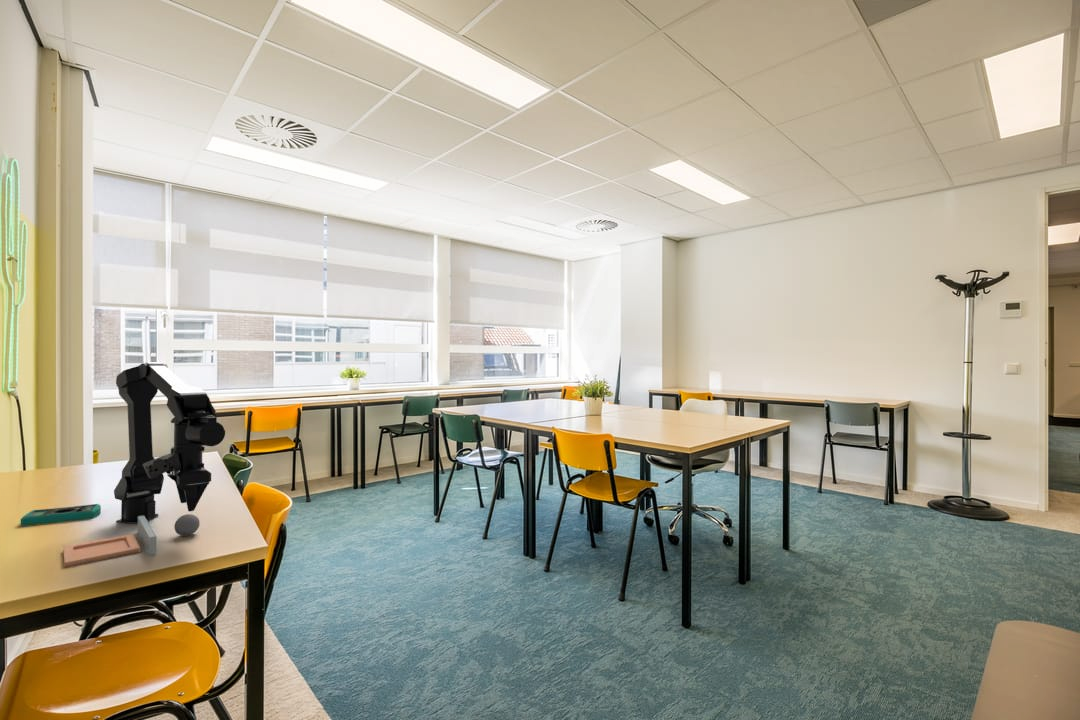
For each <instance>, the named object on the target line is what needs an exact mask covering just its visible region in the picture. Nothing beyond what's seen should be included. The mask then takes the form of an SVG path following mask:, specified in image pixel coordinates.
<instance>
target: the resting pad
mask: <svg viewBox="0 0 1080 720" xmlns="http://www.w3.org/2000/svg"><path fill="white" fill-rule="evenodd" d="M62 548H63V551H62V552H63V562H64V563H63V564H64V568H69V567H75V566H78V565H84V564H88V563H89V564H90V563H95V562H98V561H104V560H107V559H108V560H109V559H114V558H118V557H124V556H128V555H133V554H139V553H141V547H140V545H139V543H138V540H137V538H136V536H135V535H134V533H132V534H126V535H119V536H114V537H109V538H104V539H97V540H93V541H87V542H82V543H76V544H70V545H65V546H63V547H62Z"/></svg>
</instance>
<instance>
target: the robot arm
mask: <svg viewBox="0 0 1080 720" xmlns="http://www.w3.org/2000/svg"><path fill="white" fill-rule="evenodd" d="M115 384H116V387H117V388H118V395H119V396H120V398H121V399H122V400H123V401H124V402H125V403H126V404H127V406H126V407H127V423H128V449H129V459H128V461H127V462H126V464H125V466H124V467H123V468H122V470H121V478H120V480H118V483H117V485H116V486H115V488H114V490H113V494H114V499H115V500H119V501H121V503H120V504H121V507H120V508H121V512H120V513H121V515H120V516H121V517H120V519H117V520H115V523H116V524H117V523H118V524H119V523H120V524H138V516H145V518H146V520H147V521H149V520H151V519H155V518H157V517H158V516H159V513H156V500H155V495H161V493H162V488H163V484H164V480H165V476H164V473H166V475H167V477H169V478H170V479H171V480H173V481H174V483H175V486H176V489H177V493H178V498H179V501H180V503H181V504H186V506H187V511H188V512H189V513H190V512H194V511H195V509H196V507H197V506H198V503H199V502H200V499H201V498H202V496H203V495H204V493H205V490H206V489H207V487H208V485H209V484H210V482H212V473H211V472H210V471H209V470H207V469H206V468H205V463H204V462H203V452H205V447H216V446H217V445H219V444H221V443H222V442H223V440H224V438H225V436H226V430H225V427H224V426H223V424H222V423H220V422H217V420H218V419H217V418H218V417H217V414H216V409H215V408H214V406H213V404H212V402H211V400H210V397H209V395H208V393H206V392H205V390H203V389H201V388H199V387H195V386H191V385H188V384H186V383H185V382H184V381H183V380H182V379H180V378H179V377H178V376H177V374H175V373H173V372H172V371H171V370H170V368H168V365H167V364H166V363H164V362H161V361H159V362H156V361H155V362H154V361H153V362H147V361H146V362H143V363H140V364H139V365H136V366H135V367H131V368H126V369H124V370H122V371H121V372H120V373H119V374H117V376H116V378H115ZM158 391H159V392H161V394H162V395H164V396H165V397H166V399H167V402H166V406H167V408H168V410H169V411H170V412H171V414H172V415H173V416H174V417H173V418H172V419H171V420H170V423H171V424H174V427H173V446H171V448H170V453H167V454H166V455H162V456H159V457H156V458H155V457H154V453H153V433H152V432H153V431H152V429H153V427H152V405H151V404H152V401H153V400H154V398H155V396H156V395H157V393H158Z"/></svg>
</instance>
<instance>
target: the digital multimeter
mask: <svg viewBox="0 0 1080 720" xmlns="http://www.w3.org/2000/svg"><path fill="white" fill-rule="evenodd" d="M101 510H102V506H101V505H100V504H99V503H95V504H94V503H93V504H85V505H77V506H74V505H73V506H66V507H65V506H64V507H54V508H44V509H43V508H42V509H32V510H31V511H29V512H27V513H26V514H24V515H23V516H22V517H21V518H20V527H28V526H29V525H30V526H38V525H37V524H39V525H45V524H46V525H47V524H55V523H64V522H73V521H74V522H75V521H81V520H83V521H84V520H93V519H94V518H97V517H98V516H100V515H101ZM30 526H29V527H30Z"/></svg>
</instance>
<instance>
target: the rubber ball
mask: <svg viewBox="0 0 1080 720" xmlns="http://www.w3.org/2000/svg"><path fill="white" fill-rule="evenodd" d="M200 524H201V522H200V519H199V517H198V516H197V515H194V514H193V513H188V514H187V513H186V514H183V515H182V516H179V517H178V518H177V519H176V521H175V522H174V525H173V526H174V528H173V529H174V531H175V533H176V534H177V535H179V536H183V537H187V536H191V535H194V534H195V533H196V532H197V530H198V529H199V528H200Z"/></svg>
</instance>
